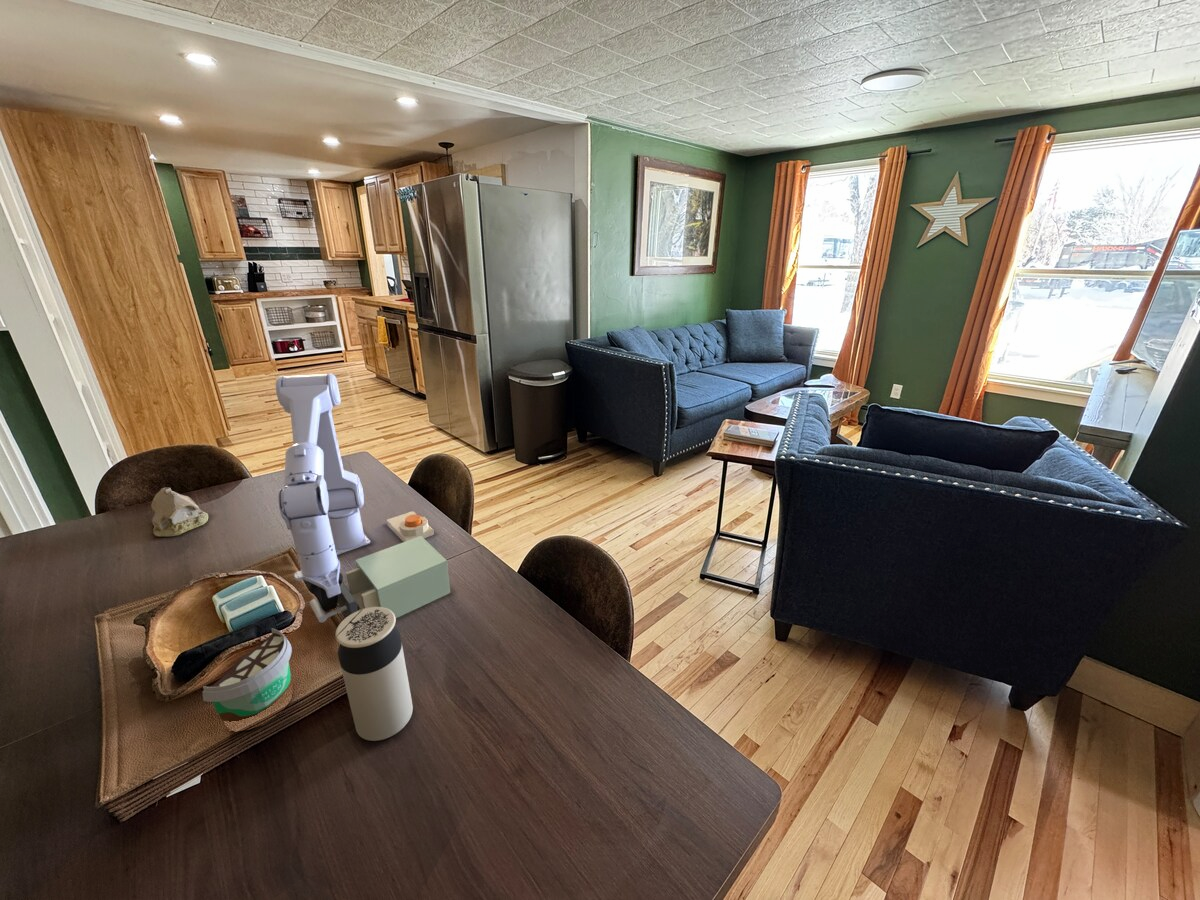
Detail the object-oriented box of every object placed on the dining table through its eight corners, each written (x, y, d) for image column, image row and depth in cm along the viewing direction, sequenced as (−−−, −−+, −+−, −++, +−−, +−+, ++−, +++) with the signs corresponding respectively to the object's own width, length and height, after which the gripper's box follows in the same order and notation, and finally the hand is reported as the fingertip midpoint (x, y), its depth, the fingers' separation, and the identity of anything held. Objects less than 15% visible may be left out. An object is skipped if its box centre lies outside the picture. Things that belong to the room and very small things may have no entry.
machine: (383, 624, 90) (377, 589, 86) (361, 592, 98) (355, 559, 95) (450, 592, 98) (446, 560, 95) (425, 566, 106) (421, 535, 103)
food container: (256, 750, 66) (237, 698, 63) (219, 741, 68) (198, 690, 64) (320, 679, 78) (308, 632, 74) (288, 672, 79) (274, 625, 75)
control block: (387, 525, 122) (385, 513, 120) (413, 516, 126) (412, 504, 125) (406, 545, 114) (404, 533, 112) (434, 535, 118) (432, 523, 117)
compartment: (326, 644, 83) (319, 616, 81) (309, 612, 91) (302, 585, 88) (421, 600, 94) (417, 574, 92) (399, 575, 102) (395, 550, 99)
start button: (403, 523, 117) (402, 517, 116) (417, 518, 119) (416, 512, 119) (409, 529, 114) (408, 523, 114) (423, 524, 117) (423, 518, 116)
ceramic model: (217, 522, 121) (205, 487, 117) (161, 542, 112) (147, 505, 108) (194, 506, 128) (182, 473, 124) (140, 524, 119) (126, 488, 115)
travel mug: (424, 703, 74) (409, 613, 67) (387, 750, 67) (367, 653, 60) (383, 688, 76) (364, 599, 69) (343, 732, 69) (319, 637, 62)
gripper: (279, 537, 85) (295, 597, 90) (300, 574, 75) (317, 640, 80) (322, 523, 89) (335, 582, 94) (347, 557, 80) (360, 621, 85)
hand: (330, 608), depth 88 cm, fingers closed, pressing on compartment
